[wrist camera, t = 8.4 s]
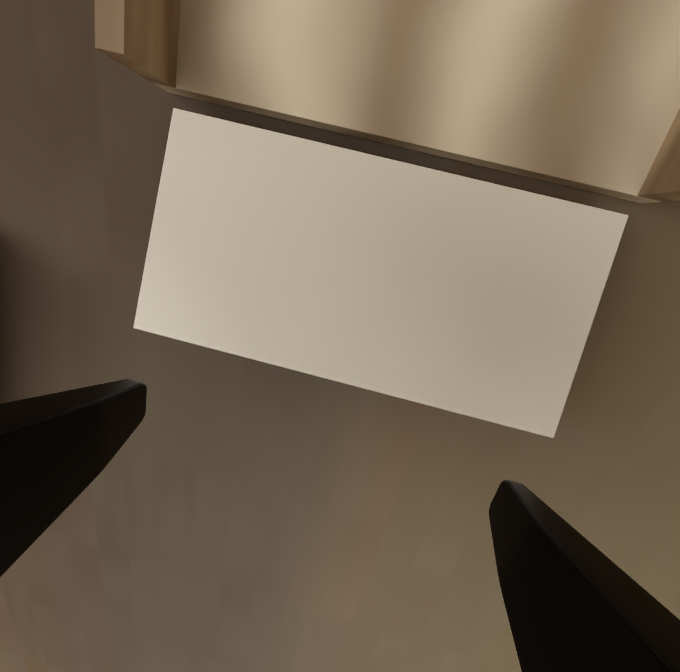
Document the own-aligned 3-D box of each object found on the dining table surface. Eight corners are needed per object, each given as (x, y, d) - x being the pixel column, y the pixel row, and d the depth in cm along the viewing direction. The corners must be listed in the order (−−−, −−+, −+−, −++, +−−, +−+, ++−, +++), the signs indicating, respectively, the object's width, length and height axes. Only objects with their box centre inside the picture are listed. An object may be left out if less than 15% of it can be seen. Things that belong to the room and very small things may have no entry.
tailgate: (628, 215, 13) (553, 438, 14) (597, 225, 15) (532, 423, 16) (173, 108, 14) (133, 328, 15) (194, 129, 15) (157, 325, 16)
